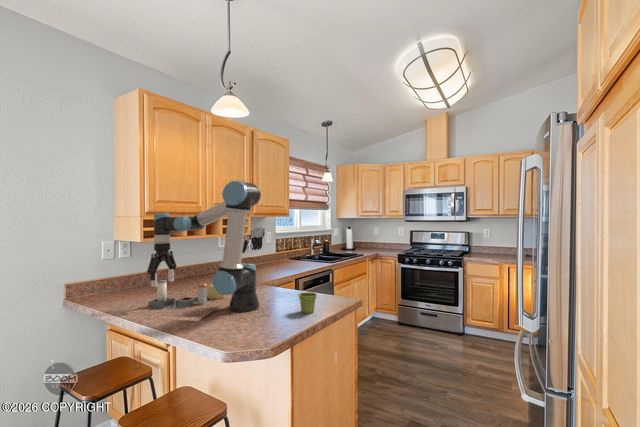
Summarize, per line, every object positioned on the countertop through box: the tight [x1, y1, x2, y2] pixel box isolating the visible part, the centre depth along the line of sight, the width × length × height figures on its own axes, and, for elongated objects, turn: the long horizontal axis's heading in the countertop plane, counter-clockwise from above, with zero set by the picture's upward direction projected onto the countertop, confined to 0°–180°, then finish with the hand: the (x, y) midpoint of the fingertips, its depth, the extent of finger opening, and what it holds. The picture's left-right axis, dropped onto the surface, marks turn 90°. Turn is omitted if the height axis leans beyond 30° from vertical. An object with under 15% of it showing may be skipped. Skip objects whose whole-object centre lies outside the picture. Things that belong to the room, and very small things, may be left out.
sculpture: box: [207, 282, 228, 300], centre depth 183 cm, size 11×12×11 cm
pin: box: [197, 283, 208, 306], centre depth 169 cm, size 4×4×12 cm
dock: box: [147, 296, 198, 310], centre depth 167 cm, size 20×14×4 cm
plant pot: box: [297, 291, 318, 314], centre depth 159 cm, size 9×9×9 cm
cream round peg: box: [156, 279, 168, 302], centre depth 165 cm, size 4×4×13 cm
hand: (162, 283), depth 165 cm, fingers open, 13 cm apart
